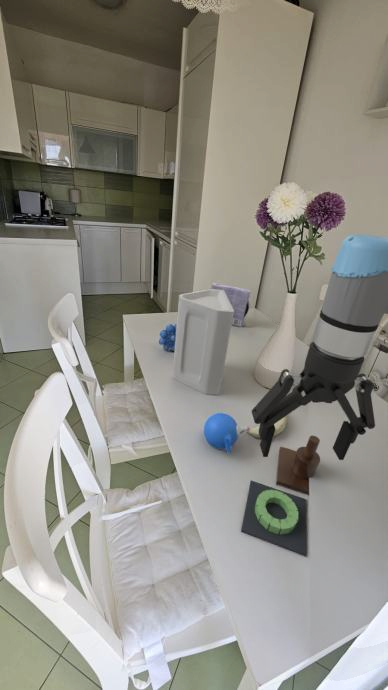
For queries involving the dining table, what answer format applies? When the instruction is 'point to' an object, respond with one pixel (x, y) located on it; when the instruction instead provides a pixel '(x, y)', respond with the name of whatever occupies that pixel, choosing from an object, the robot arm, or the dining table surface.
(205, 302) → the white prism box
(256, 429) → the fruit
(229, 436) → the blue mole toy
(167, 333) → the grapes
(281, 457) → the stand
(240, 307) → the purple towel
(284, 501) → the ring
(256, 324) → the dining table surface
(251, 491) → the mat
